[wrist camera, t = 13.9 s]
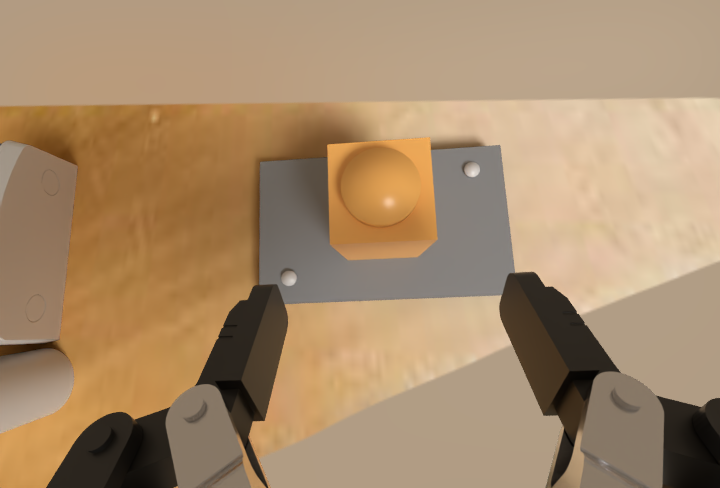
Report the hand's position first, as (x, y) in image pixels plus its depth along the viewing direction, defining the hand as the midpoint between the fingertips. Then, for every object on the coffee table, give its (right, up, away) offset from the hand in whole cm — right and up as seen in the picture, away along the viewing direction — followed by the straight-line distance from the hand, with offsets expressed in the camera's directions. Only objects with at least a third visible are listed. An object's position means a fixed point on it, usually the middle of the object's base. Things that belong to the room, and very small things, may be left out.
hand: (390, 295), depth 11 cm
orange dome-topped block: (+1, +3, +14) cm, 14 cm away
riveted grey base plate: (+1, +3, +16) cm, 16 cm away
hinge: (-29, +1, +18) cm, 34 cm away
